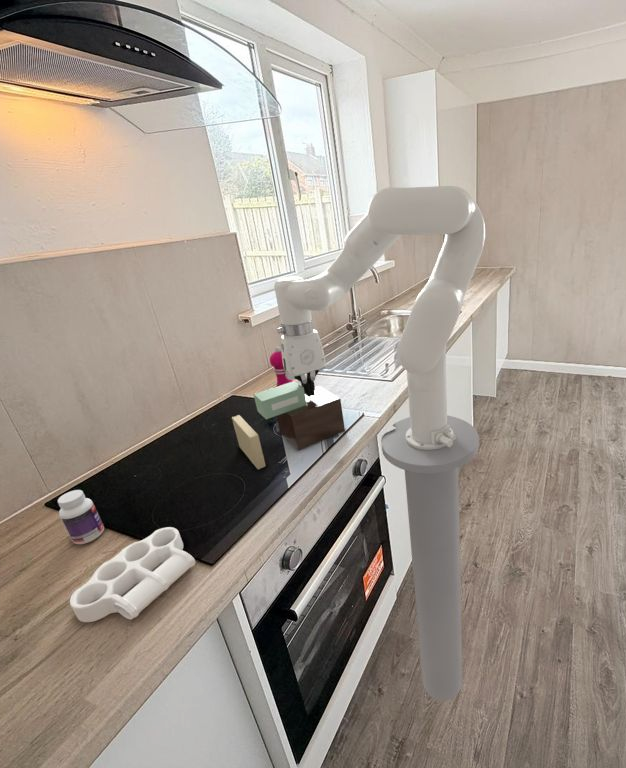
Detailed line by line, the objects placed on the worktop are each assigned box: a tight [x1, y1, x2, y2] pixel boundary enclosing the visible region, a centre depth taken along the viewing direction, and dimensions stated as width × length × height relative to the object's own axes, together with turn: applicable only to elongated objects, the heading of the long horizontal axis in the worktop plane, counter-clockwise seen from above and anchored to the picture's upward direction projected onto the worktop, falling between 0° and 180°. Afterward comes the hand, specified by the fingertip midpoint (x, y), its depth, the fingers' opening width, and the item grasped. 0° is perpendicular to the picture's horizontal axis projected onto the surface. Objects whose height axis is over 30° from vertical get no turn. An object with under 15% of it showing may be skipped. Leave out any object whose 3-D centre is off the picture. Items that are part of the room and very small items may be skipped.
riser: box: [275, 385, 346, 451], centre depth 112 cm, size 12×14×10 cm
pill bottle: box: [57, 489, 105, 545], centre depth 81 cm, size 5×5×10 cm
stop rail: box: [231, 414, 267, 470], centre depth 103 cm, size 14×2×9 cm, turn 37°
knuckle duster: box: [69, 526, 197, 623], centre depth 71 cm, size 3×18×15 cm
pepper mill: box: [269, 346, 294, 387], centre depth 126 cm, size 7×7×20 cm
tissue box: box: [253, 380, 307, 420], centre depth 105 cm, size 11×6×5 cm, turn 127°
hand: (309, 394), depth 110 cm, fingers closed
